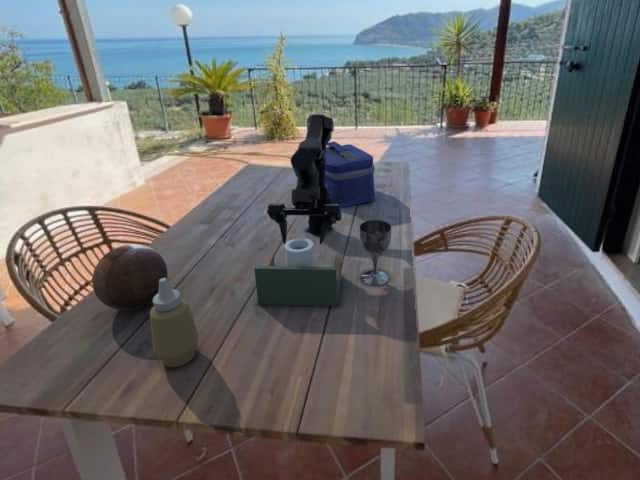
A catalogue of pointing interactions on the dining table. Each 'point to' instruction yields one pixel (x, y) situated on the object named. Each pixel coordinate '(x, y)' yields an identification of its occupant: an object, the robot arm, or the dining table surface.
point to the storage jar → (299, 253)
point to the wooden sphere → (128, 277)
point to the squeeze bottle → (172, 327)
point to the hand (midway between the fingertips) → (302, 243)
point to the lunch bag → (349, 174)
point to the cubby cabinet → (297, 284)
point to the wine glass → (375, 248)
